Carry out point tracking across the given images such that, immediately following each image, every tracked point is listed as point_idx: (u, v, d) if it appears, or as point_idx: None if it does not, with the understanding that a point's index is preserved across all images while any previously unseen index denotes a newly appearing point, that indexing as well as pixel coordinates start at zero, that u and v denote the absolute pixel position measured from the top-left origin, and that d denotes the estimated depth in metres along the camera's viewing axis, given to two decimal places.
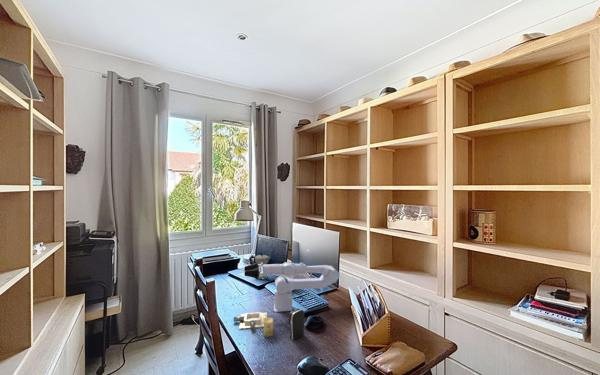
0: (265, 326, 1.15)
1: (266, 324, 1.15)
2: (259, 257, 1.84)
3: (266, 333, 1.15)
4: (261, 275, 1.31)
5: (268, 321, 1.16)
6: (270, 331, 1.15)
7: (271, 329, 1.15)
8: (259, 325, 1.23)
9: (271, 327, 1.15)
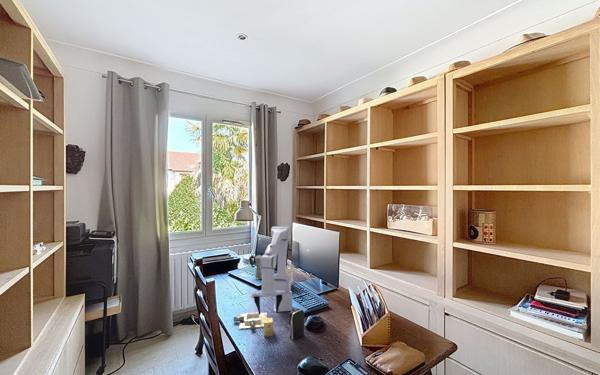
0: (265, 326, 1.15)
1: (266, 324, 1.15)
2: (259, 257, 1.84)
3: (266, 333, 1.15)
4: None
5: (268, 321, 1.16)
6: (270, 331, 1.15)
7: (271, 329, 1.15)
8: (259, 325, 1.23)
9: (271, 327, 1.15)
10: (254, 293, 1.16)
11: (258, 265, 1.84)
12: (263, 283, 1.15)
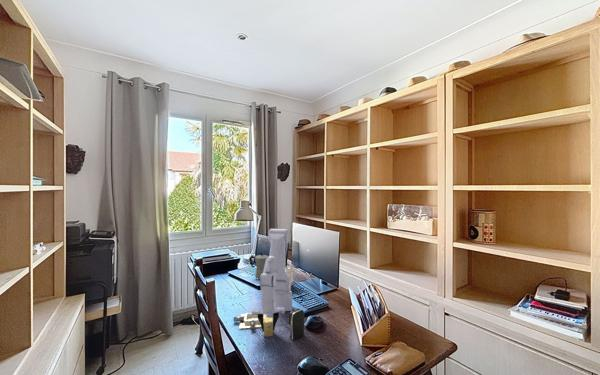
0: (265, 326, 1.15)
1: (266, 324, 1.15)
2: (259, 257, 1.84)
3: (266, 333, 1.15)
4: None
5: (268, 321, 1.16)
6: (270, 331, 1.15)
7: (271, 329, 1.15)
8: (259, 325, 1.23)
9: (271, 327, 1.15)
10: (254, 310, 1.16)
11: (258, 265, 1.84)
12: (263, 301, 1.15)
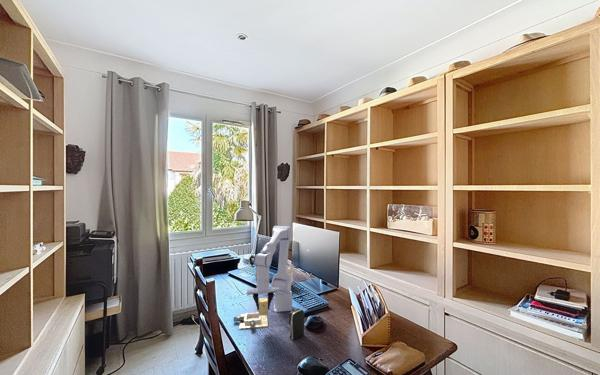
0: (260, 305, 1.18)
1: (261, 303, 1.18)
2: None
3: (261, 312, 1.18)
4: (278, 289, 1.22)
5: (263, 301, 1.19)
6: (265, 311, 1.18)
7: (266, 308, 1.18)
8: (259, 325, 1.23)
9: (266, 306, 1.18)
10: (249, 290, 1.19)
11: None
12: (257, 280, 1.18)
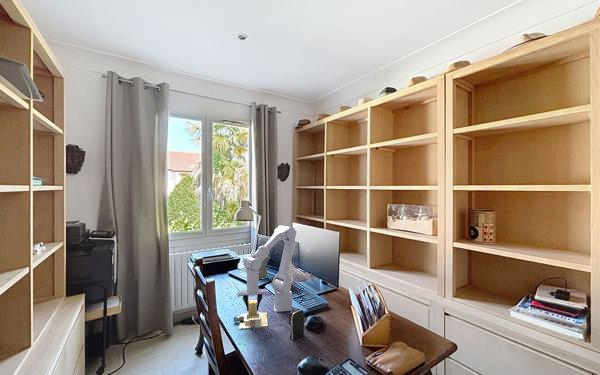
0: (249, 306, 1.25)
1: (250, 305, 1.25)
2: None
3: (250, 313, 1.25)
4: (267, 291, 1.29)
5: (252, 302, 1.26)
6: (254, 311, 1.26)
7: (255, 309, 1.26)
8: (259, 325, 1.23)
9: (255, 307, 1.26)
10: (240, 292, 1.27)
11: None
12: None
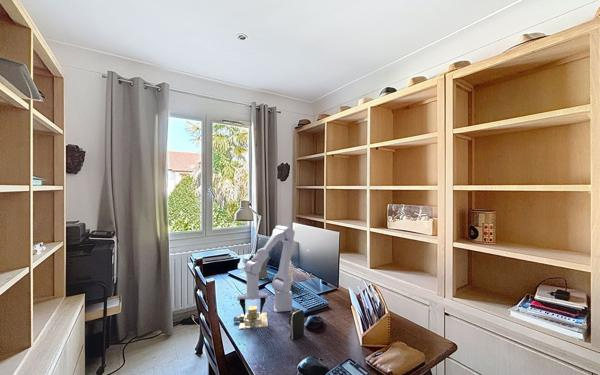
0: (249, 313, 1.25)
1: (250, 311, 1.25)
2: None
3: (250, 319, 1.25)
4: (267, 295, 1.29)
5: (252, 308, 1.26)
6: (254, 318, 1.26)
7: (255, 316, 1.26)
8: (259, 325, 1.23)
9: (255, 314, 1.26)
10: (240, 295, 1.27)
11: None
12: None
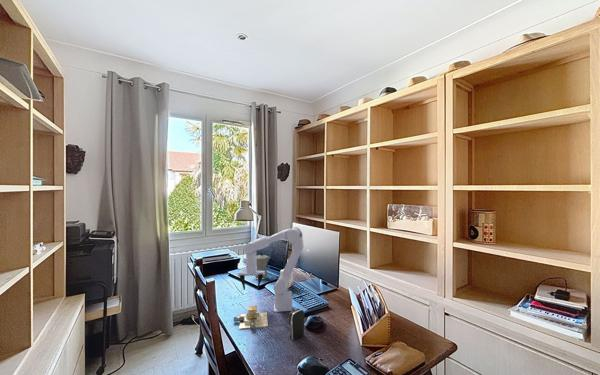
0: (249, 313, 1.25)
1: (250, 311, 1.25)
2: (259, 257, 1.84)
3: (250, 319, 1.25)
4: (264, 272, 1.45)
5: (252, 308, 1.26)
6: (254, 318, 1.26)
7: (255, 316, 1.26)
8: (259, 325, 1.23)
9: (255, 314, 1.26)
10: (240, 272, 1.43)
11: (258, 265, 1.84)
12: None
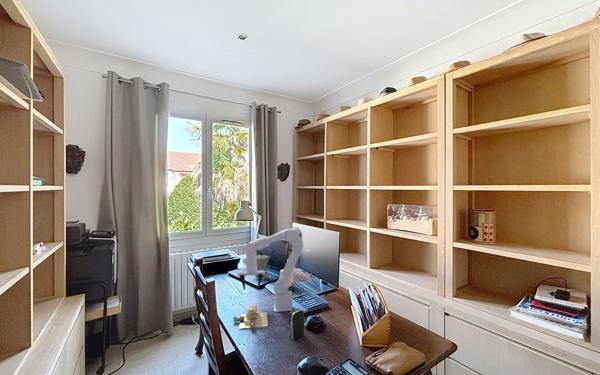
0: (249, 313, 1.25)
1: (250, 311, 1.25)
2: (259, 257, 1.84)
3: (250, 319, 1.25)
4: (264, 272, 1.45)
5: (252, 308, 1.26)
6: (254, 318, 1.26)
7: (255, 316, 1.26)
8: (259, 325, 1.23)
9: (255, 314, 1.26)
10: (240, 272, 1.43)
11: (258, 265, 1.84)
12: None
